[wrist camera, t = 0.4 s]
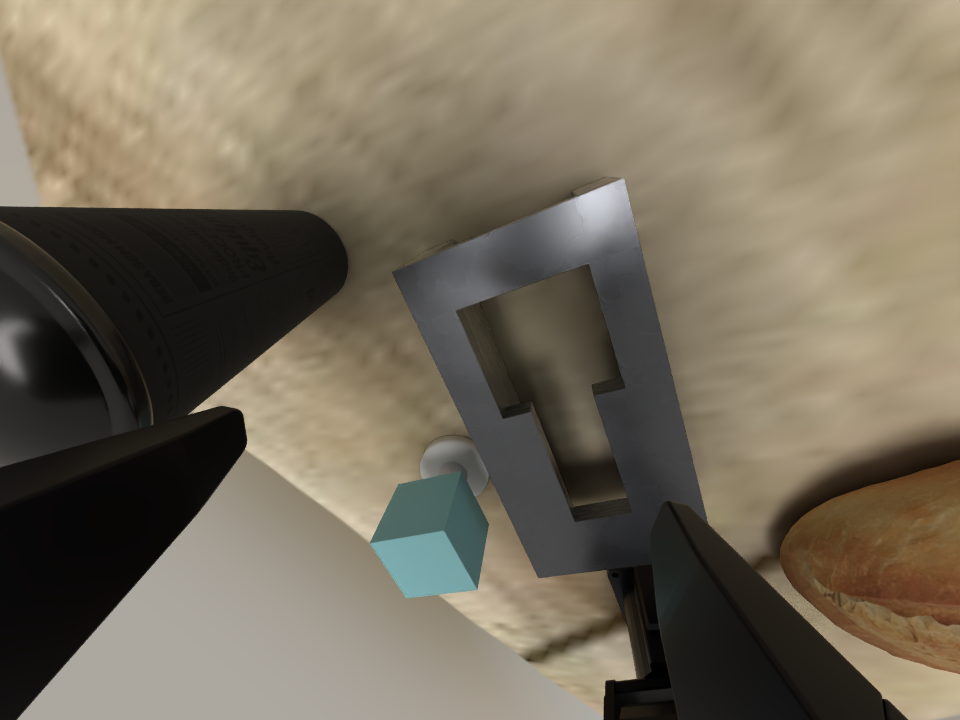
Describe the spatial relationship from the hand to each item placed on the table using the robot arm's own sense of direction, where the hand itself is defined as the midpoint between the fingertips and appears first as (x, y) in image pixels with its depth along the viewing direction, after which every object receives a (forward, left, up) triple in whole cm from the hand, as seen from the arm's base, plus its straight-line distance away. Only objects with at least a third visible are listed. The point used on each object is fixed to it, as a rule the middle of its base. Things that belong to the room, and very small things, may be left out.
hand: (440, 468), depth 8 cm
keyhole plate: (-6, -1, -14) cm, 15 cm away
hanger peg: (-10, +7, -14) cm, 18 cm away
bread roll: (-19, -17, -14) cm, 29 cm away
